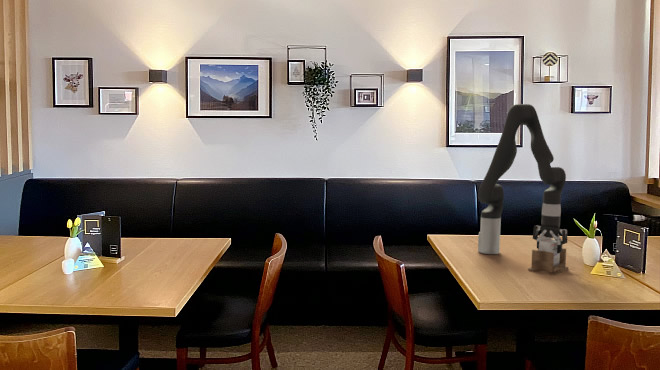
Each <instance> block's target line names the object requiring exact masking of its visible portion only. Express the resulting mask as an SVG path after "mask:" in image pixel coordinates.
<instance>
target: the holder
mask: <svg viewBox="0 0 660 370" xmlns="http://www.w3.org/2000/svg"><path fill="white" fill-rule="evenodd" d="M566 262H567V248H564V247H562V252H561V253H560V261H559V264H558V265H556V266H553V264H554V253H551V252H545V251H539V250H538V249H532V250H531V267H529V268H527V270H528V272H535V273H539V274H544V275H549V276H555V275H558V274H560V273H563V272H565V271H568V270H569V266H567V265H566Z"/></svg>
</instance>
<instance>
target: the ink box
mask: <svg viewBox="0 0 660 370" xmlns="http://www.w3.org/2000/svg"><path fill="white" fill-rule="evenodd" d="M539 236H540V241H539V251H545V252H551V253H554V264H553V266H556V265H558V264H559V261H560V253H557V245H558V243H557V242H556V240H555V239H554V238H549V237H544V236H543V234H541V233H540V234H539Z"/></svg>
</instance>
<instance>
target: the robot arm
mask: <svg viewBox="0 0 660 370" xmlns="http://www.w3.org/2000/svg"><path fill="white" fill-rule="evenodd" d="M520 126H526V127H527V129H528V130H529V131H528V132H529V134H530V150H531V153H532V155H533V157H534V159H535V161H536V163H537V164H536V165H537V169H538V174H539V178H540V180H541V181H542V182H543V184H546V185H550V186H549V187H548V188H547V189H545V190H544V191H543V194H542V195H543V196H542V197H543V198H542V206H541V222H540V223H541V225H539V224H537V225H534V226H533V231H532V239H533V240H535V241H536V249H537V250H539V241H540V235H539V232H541V233H540V234H543V236H544V237H549V238H551V239H553V240H556V242H557V243H558V245H557V253H561V252H562V248H563V245H565V244H567V243H568V229H567V228H566V229H565V228H564V229H561V228H560V227H561V214H562V210H561V209H562V207H561V204H562V203H561V202H562V201H561V199H562V192H563V189H564V187H565V184H566V178H567V176H566V171H565V170H564V168H562V167H560V166H559V167H558V166H555V167H553V166H551V164H552V163H553V162H554V160H555V159H554V155H553V153H552V151H551V149H550V147H549V145H548V143H547V141H546V138H545V135H544V132H543V128H542V125H541V123H540V120H539V116H538V113H537V111H536V108H535V107H534V106H533V105H532V104H529V103H527V104H526V103H517V104H513V105H512V106H511V107H509V110H508V112H507V115H506V118H505V122H504V126H503V130H502V133H501V135H500V138H499V142H498V143H497V147H496V148H495V151H494V154H493V157H492V160H491V162H490V165H489V168H488V169H487V172H486V174H485V176H484V178H483V179H482V181H481V184H480V186H479V187H478V193H477V200H478V201H479V202H480V203H481V204H485V205H487V204H488V206H487V207H486V208H484V209H483V210H481V212H480V231H479V232H478V236H477V237H478V241H477V242H478V243H477V253H478V252H479V253H481V254H484V255H485V254H486V255H498V254H500V249H501V248H500V247H501V246H500V245H501V244H500V242H501V225H502V224H501V221H502V220H501V219H502V213H503V208H504V199H505V198H504V197H505V195H504V194H505V192H504V188H503V186H502V185H501V184H499V183H497V182H498V181H499V179H500V178H502V176H504V175H505V173H507V172H508V170H509V169H510V168H511V167H512V165H513V164H514V162H515V159H516V156H517V152H518V150H517V149H518V148H517V147H518V146H517V141H516V135H517V132H518V130H519V127H520ZM560 235H561V236H560Z"/></svg>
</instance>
